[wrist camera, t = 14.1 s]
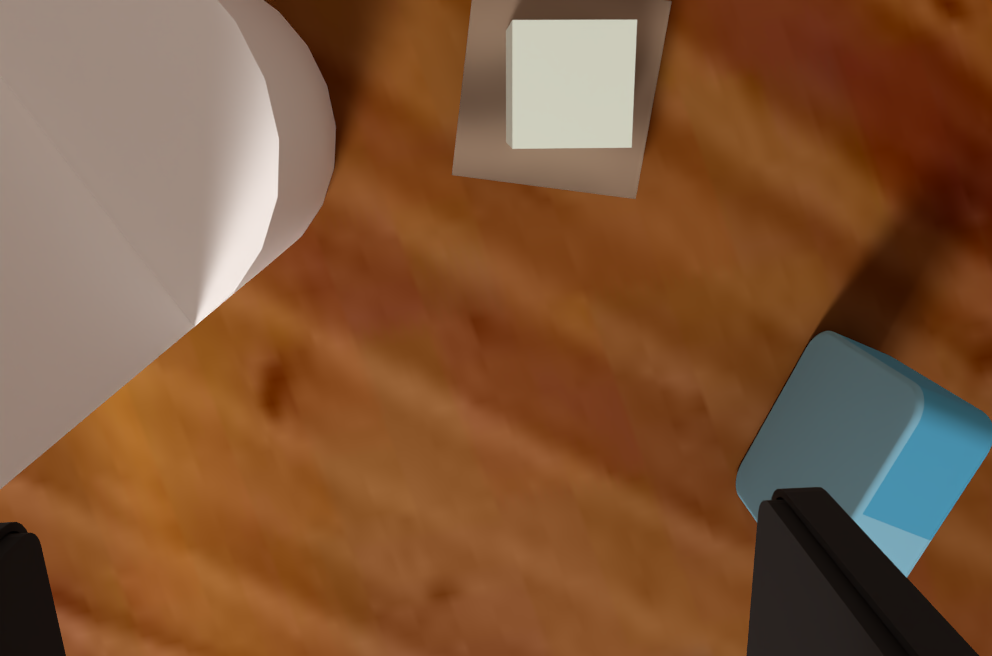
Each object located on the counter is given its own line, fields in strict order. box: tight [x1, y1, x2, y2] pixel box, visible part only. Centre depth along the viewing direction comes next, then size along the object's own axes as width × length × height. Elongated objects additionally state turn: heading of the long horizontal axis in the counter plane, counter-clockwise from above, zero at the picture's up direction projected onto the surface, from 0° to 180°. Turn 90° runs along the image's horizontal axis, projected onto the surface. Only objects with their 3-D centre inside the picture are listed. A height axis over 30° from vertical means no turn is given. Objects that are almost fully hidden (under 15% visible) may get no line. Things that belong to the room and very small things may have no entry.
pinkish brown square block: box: [452, 0, 672, 199], centre depth 42 cm, size 10×10×4 cm
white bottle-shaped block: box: [0, 0, 336, 489], centre depth 29 cm, size 17×17×28 cm
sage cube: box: [506, 20, 637, 149], centre depth 37 cm, size 6×6×6 cm
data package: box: [736, 331, 992, 577], centre depth 44 cm, size 12×4×12 cm, turn 157°
